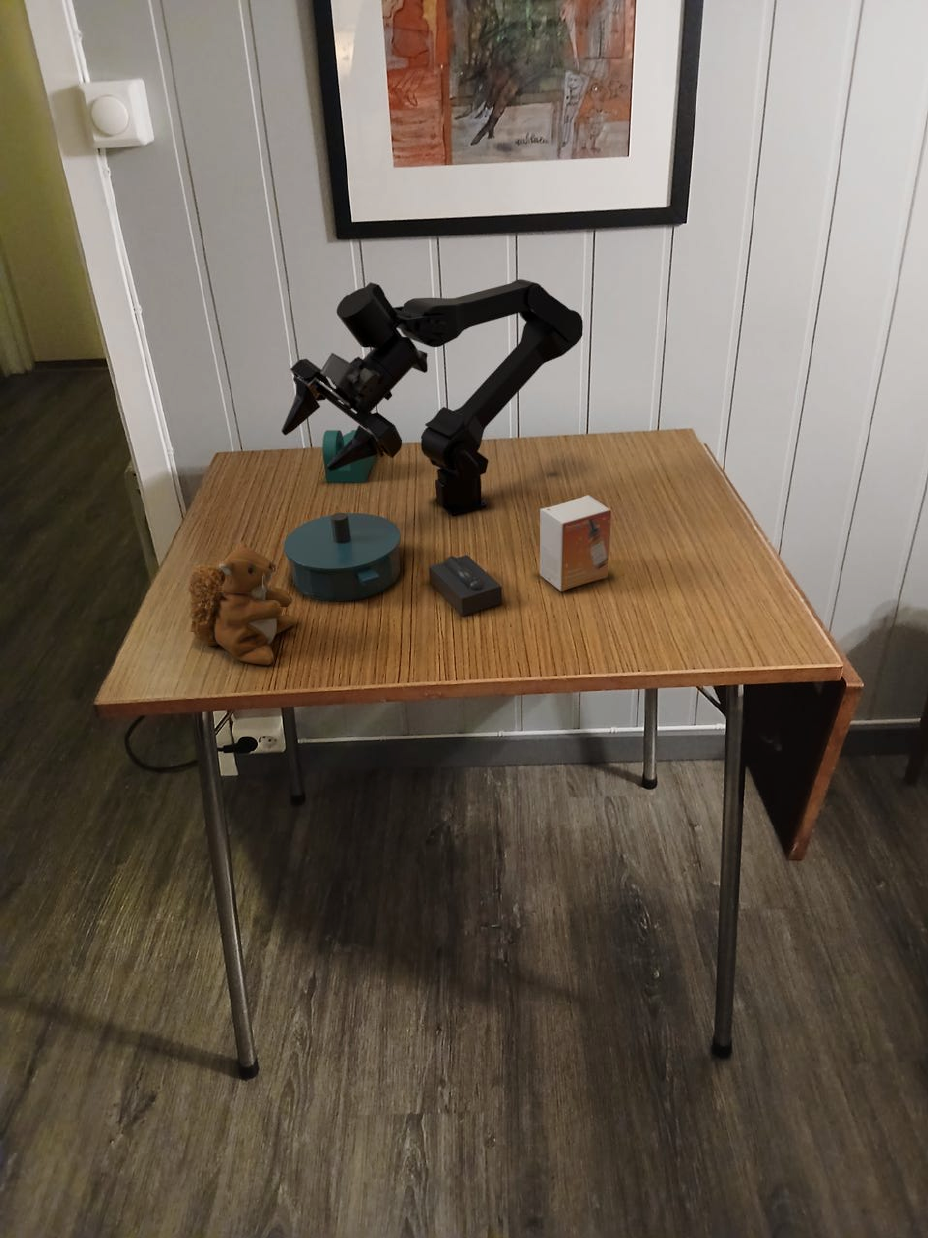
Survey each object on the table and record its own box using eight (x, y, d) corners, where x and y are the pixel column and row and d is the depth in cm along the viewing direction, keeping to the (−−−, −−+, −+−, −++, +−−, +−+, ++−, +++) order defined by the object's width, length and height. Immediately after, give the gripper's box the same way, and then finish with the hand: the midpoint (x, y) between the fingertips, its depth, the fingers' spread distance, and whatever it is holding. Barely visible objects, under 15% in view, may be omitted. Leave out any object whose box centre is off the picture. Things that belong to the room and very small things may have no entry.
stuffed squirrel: (275, 668, 114) (257, 576, 107) (174, 655, 118) (149, 565, 111) (307, 624, 122) (293, 536, 115) (212, 613, 126) (192, 527, 119)
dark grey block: (468, 571, 132) (466, 547, 130) (502, 603, 125) (501, 578, 122) (430, 583, 130) (428, 558, 128) (462, 616, 122) (461, 590, 120)
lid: (374, 510, 140) (371, 481, 138) (420, 555, 128) (417, 524, 125) (270, 537, 134) (264, 508, 132) (307, 587, 122) (302, 556, 119)
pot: (369, 531, 144) (365, 501, 141) (426, 590, 128) (423, 558, 126) (273, 556, 139) (268, 527, 136) (320, 622, 123) (315, 589, 120)
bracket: (364, 482, 160) (359, 439, 155) (326, 482, 160) (320, 439, 156) (382, 441, 174) (378, 401, 170) (347, 441, 175) (342, 401, 171)
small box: (560, 593, 126) (561, 524, 120) (538, 575, 130) (538, 507, 125) (609, 577, 129) (612, 509, 123) (586, 560, 133) (588, 493, 127)
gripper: (317, 303, 126) (238, 385, 125) (415, 374, 121) (334, 462, 119) (340, 349, 137) (268, 425, 135) (432, 417, 131) (358, 497, 129)
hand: (305, 451), depth 129 cm, fingers open, 9 cm apart
